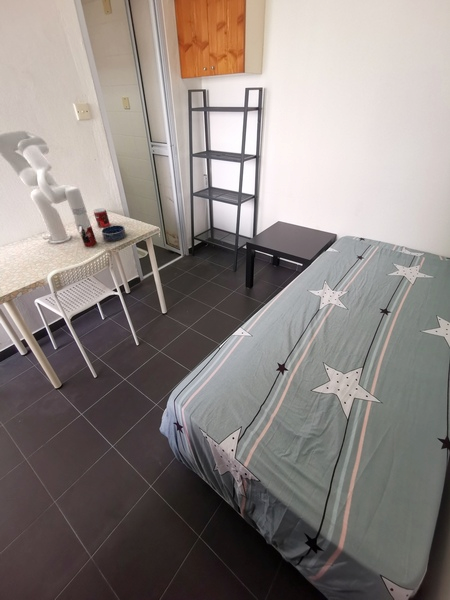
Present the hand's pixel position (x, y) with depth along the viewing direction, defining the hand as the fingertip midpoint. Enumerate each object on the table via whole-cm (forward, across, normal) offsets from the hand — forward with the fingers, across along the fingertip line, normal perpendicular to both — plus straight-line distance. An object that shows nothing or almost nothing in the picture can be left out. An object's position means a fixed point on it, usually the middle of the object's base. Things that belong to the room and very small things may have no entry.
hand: (89, 239), depth 170 cm
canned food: (+4, -31, 0) cm, 31 cm away
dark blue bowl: (+4, -10, +12) cm, 16 cm away
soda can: (+4, 0, 0) cm, 4 cm away
